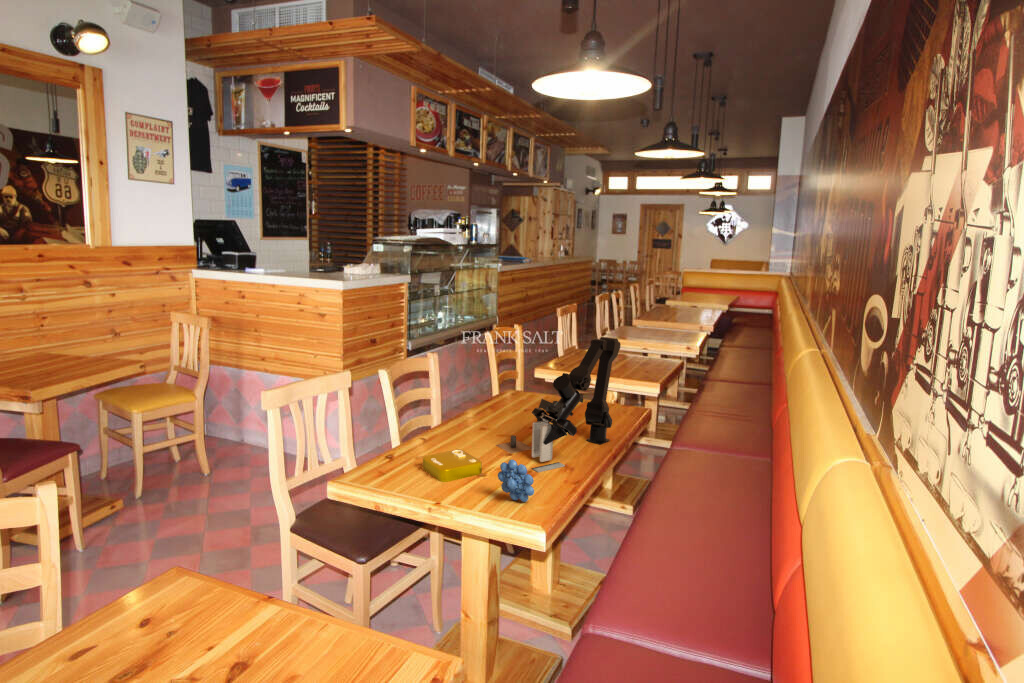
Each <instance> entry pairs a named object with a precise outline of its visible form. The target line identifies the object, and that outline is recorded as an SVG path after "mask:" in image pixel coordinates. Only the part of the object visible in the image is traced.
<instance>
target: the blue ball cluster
mask: <svg viewBox="0 0 1024 683" xmlns="http://www.w3.org/2000/svg"><path fill="white" fill-rule="evenodd" d="M499 469H500V471H498V473H497V479H498V480H499V481H500V482H501V485H500V486H501V490H502V491H503V492H504V493H506V494H508V493H509V498H510V499H511V500H512V501H518V500H520V501H521V502H523V503H525V502H528V500H529V497H531V496H533V495H534V494H535V489H534V487H532V485H533V484H534V477H533V476H532V475H531V474H529V473H528V467H527V466H526V465H525V464H523V463H520V464H518V463H517V461H516V460H514V459H509V461H507V462H506V461H505V462H502V463H500V466H499Z"/></svg>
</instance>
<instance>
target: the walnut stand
mask: <svg viewBox="0 0 1024 683" xmlns="http://www.w3.org/2000/svg"><path fill="white" fill-rule="evenodd" d="M495 446H496V447H498V448H500V449H502V450H504V451H505V452H507V453H509V454H515V453H519V452H525V451H528V450H529V451H530V450H532V446H530V445H528V444H526V443H524V442H522V441H520V440H517V435H510V442H505V443H504V442H503V443H498V444H495Z"/></svg>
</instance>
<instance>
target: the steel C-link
mask: <svg viewBox="0 0 1024 683" xmlns="http://www.w3.org/2000/svg"><path fill="white" fill-rule="evenodd" d="M552 426H553V423H551V422H549V423H548V422H545V421H538V422H537V421H534V422H532V432H531V433H532V434H531V435H532V436H531V447H532V449H531V458H533V459H535V458H537V457H539V462H540V463H543V462H547V461H551V460H553V451H554V450H553V449H554V448H553V447H554V446H553V445H554V441H552V442H550V443H549V444H547V445H545V444H544V441H545V439H546V438H547V436H548V434H549V433H550V431H551V430H552Z"/></svg>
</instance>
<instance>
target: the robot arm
mask: <svg viewBox="0 0 1024 683" xmlns="http://www.w3.org/2000/svg"><path fill="white" fill-rule="evenodd" d="M621 344H622V343H621V342H620V341H619V339H618V338H615V337H608V336H607V337H606V336H605V337H604V336H601V337H600V338H593V339H591V341H590V346H588V348H587V351H586V352H585V354H584V356H583V358H582V360H580V363H579V364H578V366H576V367H574V368H572V369H571V370H570V372H569V373H568V372H567V373H565V372H562V375H559V376H558V377H556V378H555V379H554V380H553V383H552V386H553V388H554V390H555V391H556V392H557V394H558V395H559V397H560V398H559V400H558V401H557V400H553V401H552V402H551V401H549V400H545V399H543V398H541V399H540V403H539V405H538V407H535V408H534V409H533V410H531V414H533V416H534V417H535V419H536V422H538V421H545V422H548V423H550V424H552V425H553V426H552V430H551V431H550V433H549V434H548V436H547V438H546V439H545V441H544V444H545V445H547V444H549V443H550V442H552V441H553V442H555V441H556V440H559V439H560V438H563V437H565V436H566V437H567V436H568V435H570V436H572V437H575V435H577V432H578V430H577V429H578V428H577V427H576V425H574V423H573V422H572V421H571V420H569V417H570V416H571V417H572V416H574V413H573V411H574V410H575V408H576V407H577V405H578V404H579V403H584V394H582V393H580V392H579V391H581V392H582V391H584V392H586V391H587V390H588V389H589V388H590V385H591V382H592V376H591V375H592V373H593V371H594V368H595V367H596V365H597V363H598V367H597V371H596V372H597V374H596V377H595V378H596V379H595V384H594V385H595V386H594V391H593V397H592V399H591V400H589V401H588V402H587V403H586V408H585V412H584V418H585V424H586V425H588V426H590V430H589V437H588V438H587V439H586V442H589V443H590V442H591V443H593V444H598V445H603V444H605V443H608V442H610V438H607V433H608V432H607V430H608V429H609V428H612V425H613V419H612V417H611V415H610V407H609V405H608V402H607V397H608V396H607V395H608V390H609V386H610V385H609V384H610V378H611V374H612V373H611V371H612V365H613V362H614V360H616V358H617V357H618V356H619V351H620V350H621V346H622V345H621Z"/></svg>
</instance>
